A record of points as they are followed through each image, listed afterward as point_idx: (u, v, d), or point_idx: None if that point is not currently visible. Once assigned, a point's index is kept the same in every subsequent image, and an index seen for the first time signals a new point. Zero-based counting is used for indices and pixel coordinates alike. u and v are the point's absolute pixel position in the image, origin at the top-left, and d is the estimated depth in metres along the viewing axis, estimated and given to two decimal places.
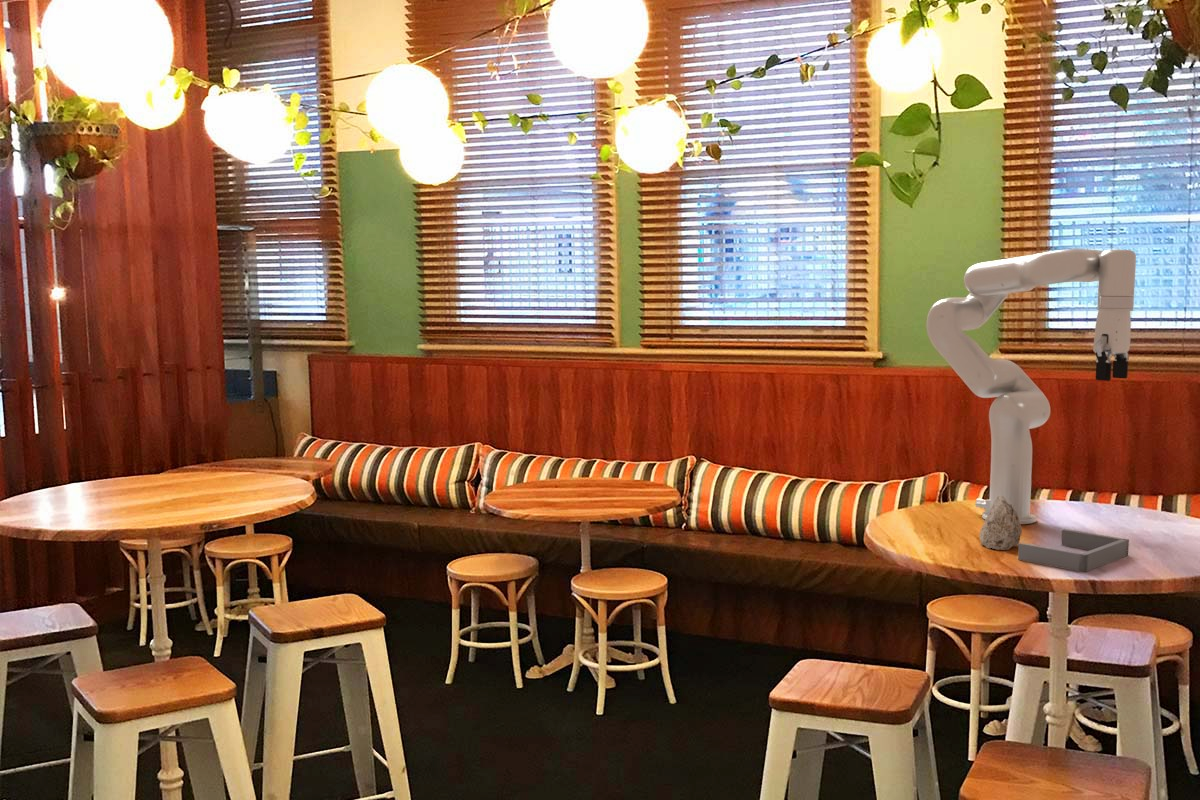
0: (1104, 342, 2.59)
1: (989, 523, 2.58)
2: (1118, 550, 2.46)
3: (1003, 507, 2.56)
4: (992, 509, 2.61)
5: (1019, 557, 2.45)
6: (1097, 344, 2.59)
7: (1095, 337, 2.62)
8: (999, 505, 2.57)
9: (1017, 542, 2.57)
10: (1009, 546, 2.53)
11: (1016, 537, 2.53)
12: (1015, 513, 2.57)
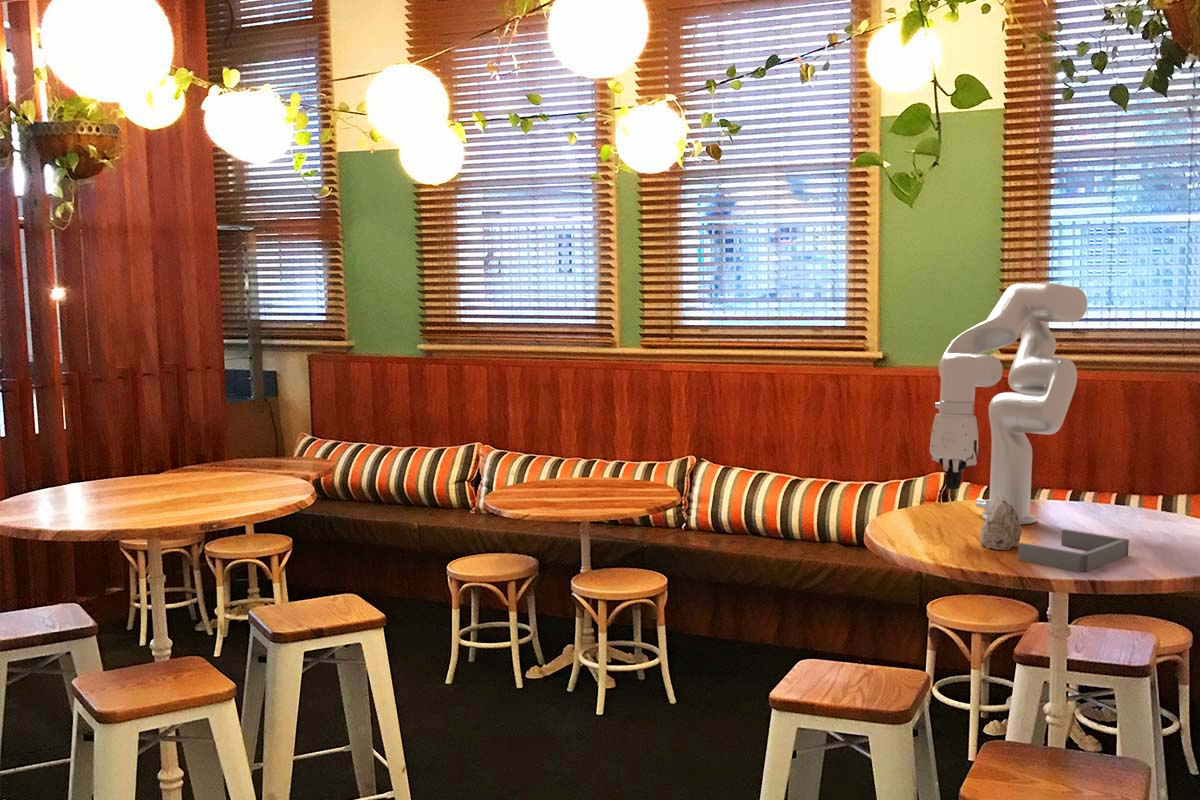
0: None
1: (989, 523, 2.58)
2: (1118, 550, 2.46)
3: (1003, 507, 2.56)
4: (992, 509, 2.61)
5: (1019, 557, 2.45)
6: (974, 463, 2.62)
7: (969, 444, 2.60)
8: (999, 505, 2.57)
9: (1017, 542, 2.57)
10: (1009, 546, 2.53)
11: (1016, 537, 2.53)
12: (1015, 513, 2.57)
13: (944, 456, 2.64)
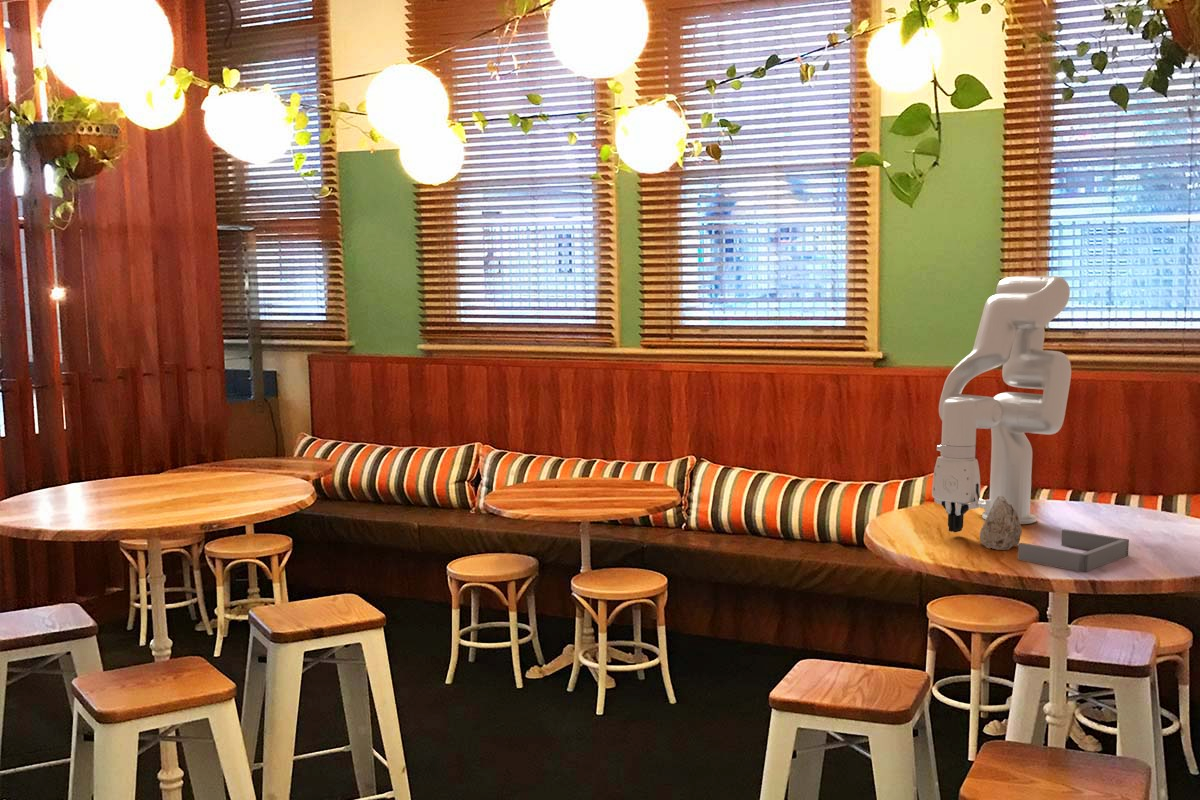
0: None
1: (989, 523, 2.58)
2: (1118, 550, 2.46)
3: (1003, 507, 2.56)
4: (992, 509, 2.61)
5: (1019, 557, 2.45)
6: (976, 507, 2.63)
7: (971, 488, 2.61)
8: (999, 505, 2.57)
9: (1017, 542, 2.57)
10: (1009, 546, 2.53)
11: (1016, 537, 2.53)
12: (1015, 513, 2.57)
13: (946, 499, 2.65)
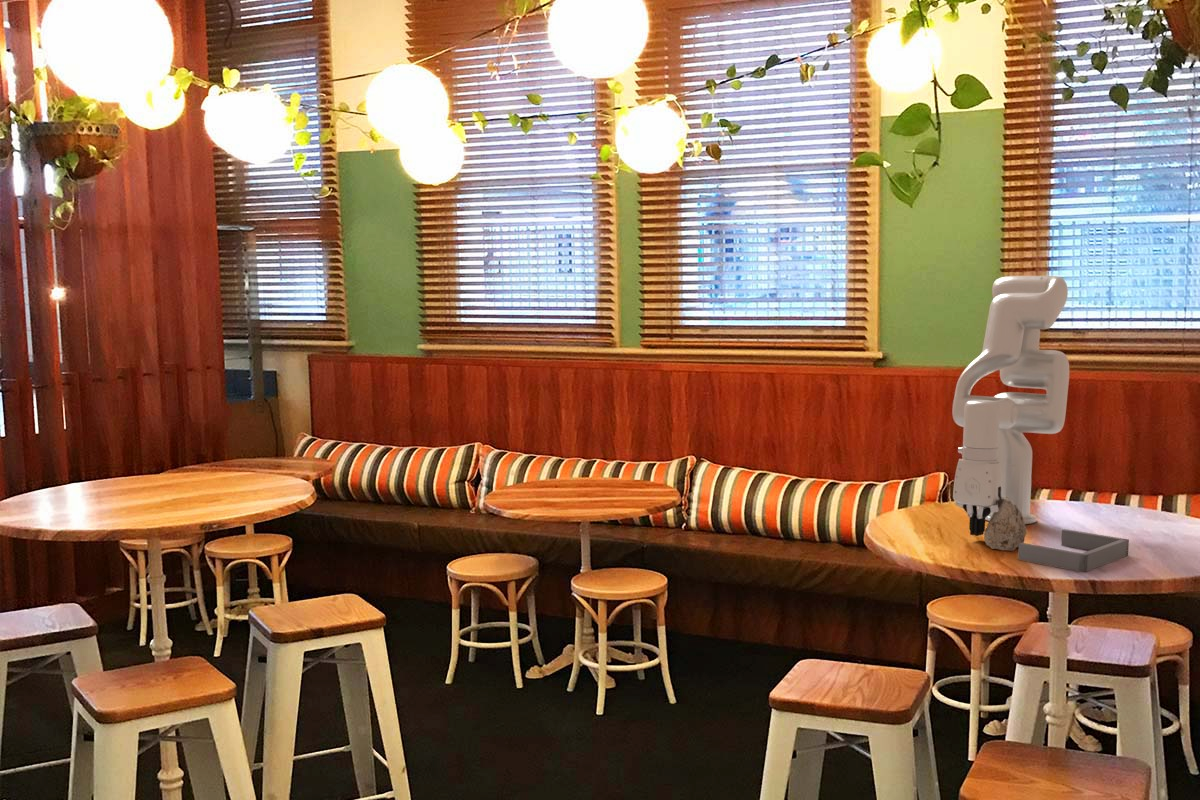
0: None
1: (994, 523, 2.57)
2: (1118, 550, 2.46)
3: (1008, 507, 2.55)
4: None
5: (1019, 557, 2.45)
6: None
7: (993, 491, 2.57)
8: (1004, 505, 2.56)
9: (1022, 542, 2.56)
10: (1014, 546, 2.53)
11: (1021, 537, 2.53)
12: (1020, 513, 2.56)
13: (968, 502, 2.61)
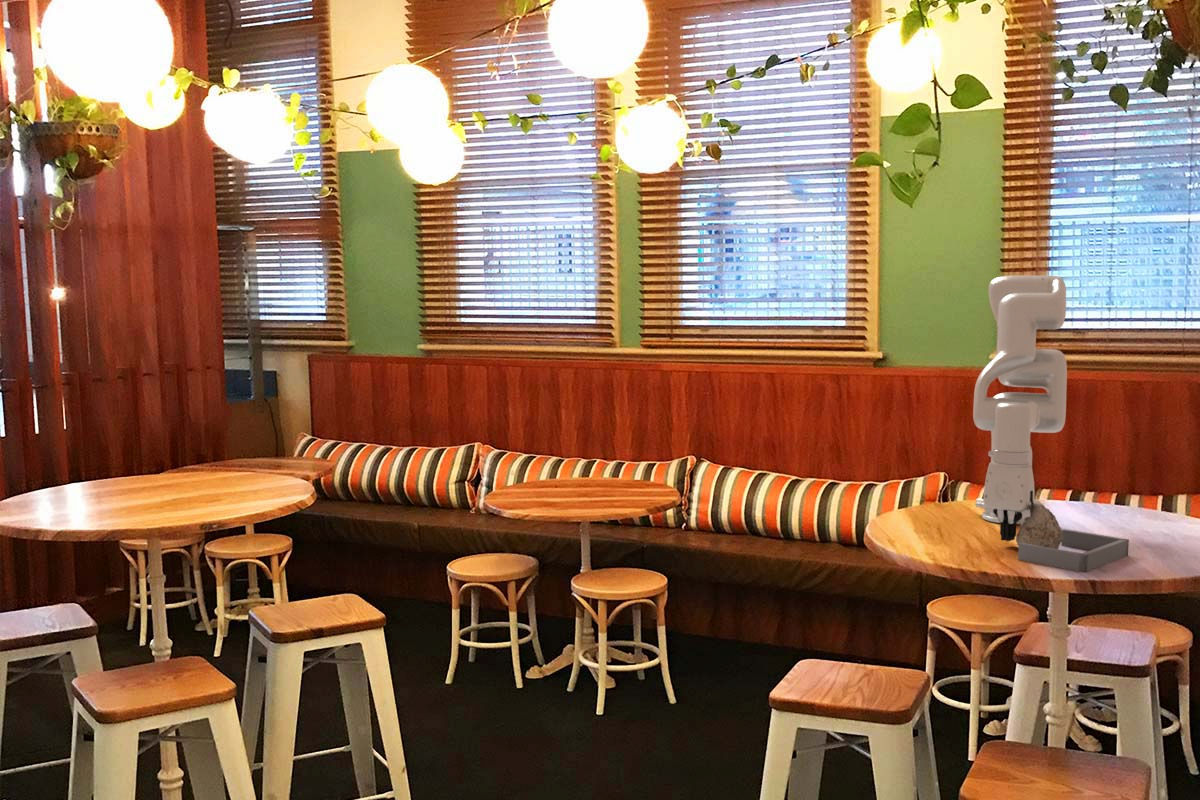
0: None
1: (1028, 529, 2.52)
2: (1118, 550, 2.46)
3: (1044, 512, 2.50)
4: None
5: (1019, 557, 2.45)
6: (1031, 515, 2.53)
7: (1025, 495, 2.52)
8: (1039, 510, 2.51)
9: None
10: None
11: (1059, 542, 2.48)
12: (1054, 518, 2.51)
13: (999, 507, 2.56)
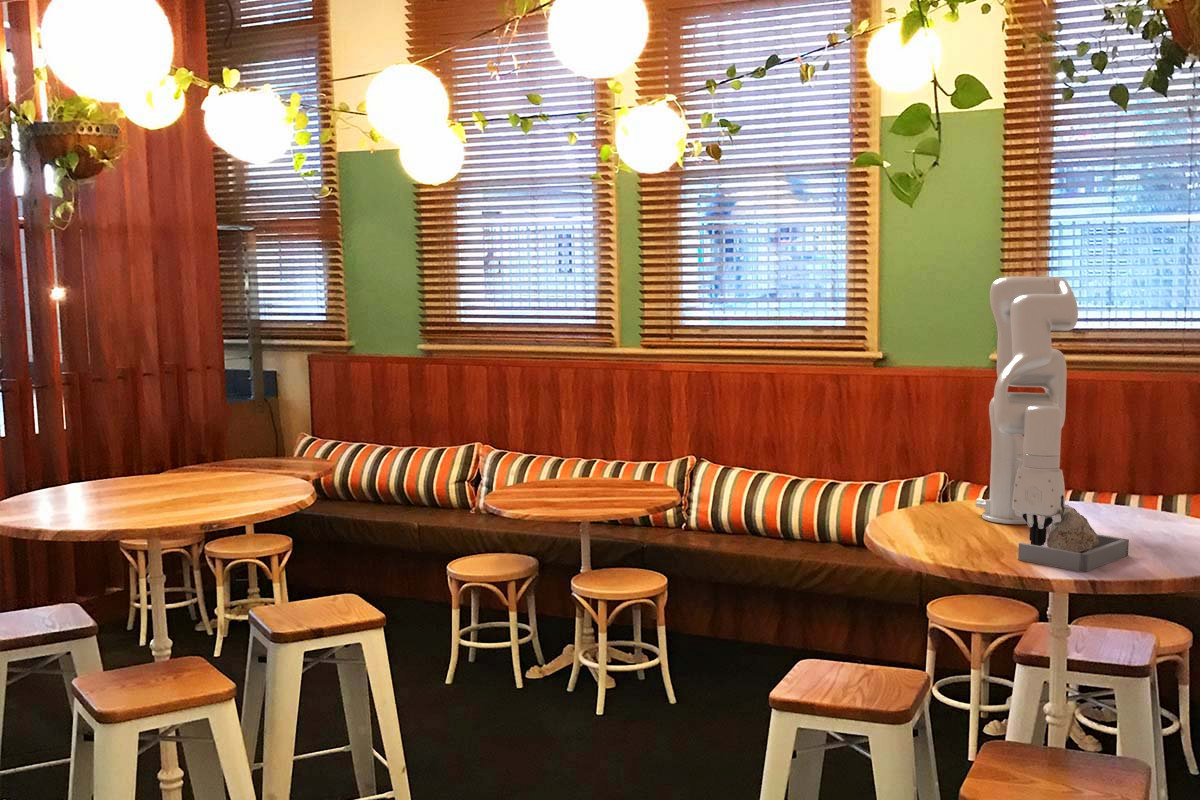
0: None
1: (1063, 533, 2.48)
2: (1118, 550, 2.46)
3: (1079, 516, 2.46)
4: None
5: (1019, 557, 2.45)
6: (1061, 520, 2.48)
7: (1056, 500, 2.47)
8: (1073, 514, 2.47)
9: None
10: None
11: (1096, 546, 2.45)
12: (1087, 521, 2.48)
13: (1029, 512, 2.51)
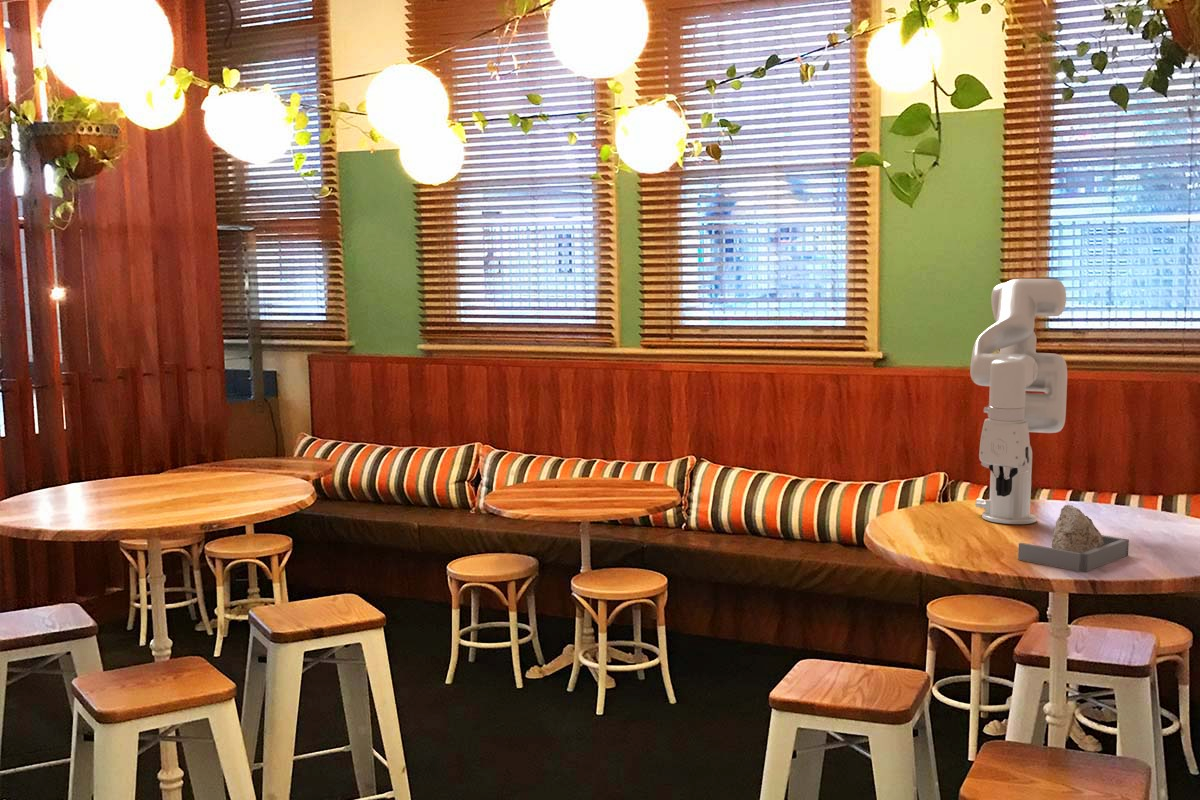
0: None
1: (1068, 534, 2.47)
2: (1118, 550, 2.46)
3: (1083, 517, 2.46)
4: (1064, 519, 2.50)
5: (1019, 557, 2.45)
6: (1026, 470, 2.54)
7: (1021, 452, 2.53)
8: (1078, 515, 2.46)
9: None
10: None
11: None
12: (1092, 522, 2.47)
13: (994, 463, 2.57)
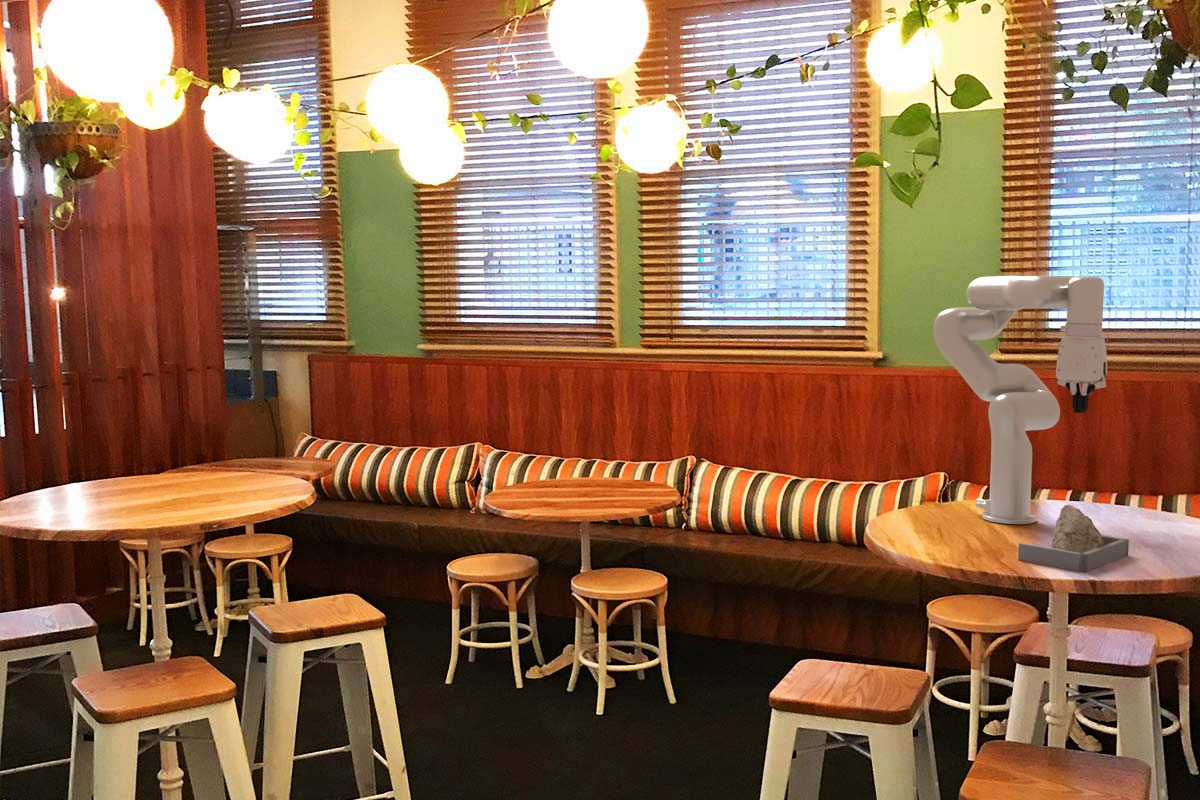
0: None
1: (1068, 534, 2.47)
2: (1118, 550, 2.46)
3: (1083, 517, 2.46)
4: (1064, 519, 2.50)
5: (1019, 557, 2.45)
6: (1104, 386, 2.59)
7: (1099, 366, 2.57)
8: (1078, 515, 2.46)
9: None
10: None
11: None
12: (1092, 522, 2.47)
13: (1072, 379, 2.61)
